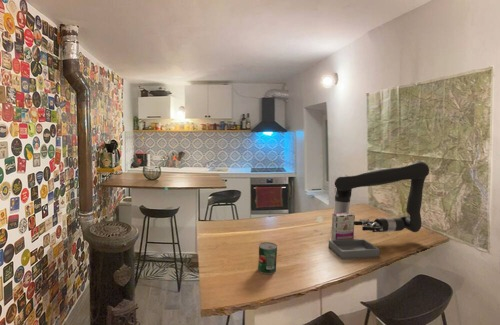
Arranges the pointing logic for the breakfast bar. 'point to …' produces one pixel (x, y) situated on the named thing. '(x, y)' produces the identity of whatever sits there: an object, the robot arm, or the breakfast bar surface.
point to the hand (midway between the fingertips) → (358, 225)
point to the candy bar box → (342, 226)
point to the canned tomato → (267, 258)
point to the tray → (353, 249)
